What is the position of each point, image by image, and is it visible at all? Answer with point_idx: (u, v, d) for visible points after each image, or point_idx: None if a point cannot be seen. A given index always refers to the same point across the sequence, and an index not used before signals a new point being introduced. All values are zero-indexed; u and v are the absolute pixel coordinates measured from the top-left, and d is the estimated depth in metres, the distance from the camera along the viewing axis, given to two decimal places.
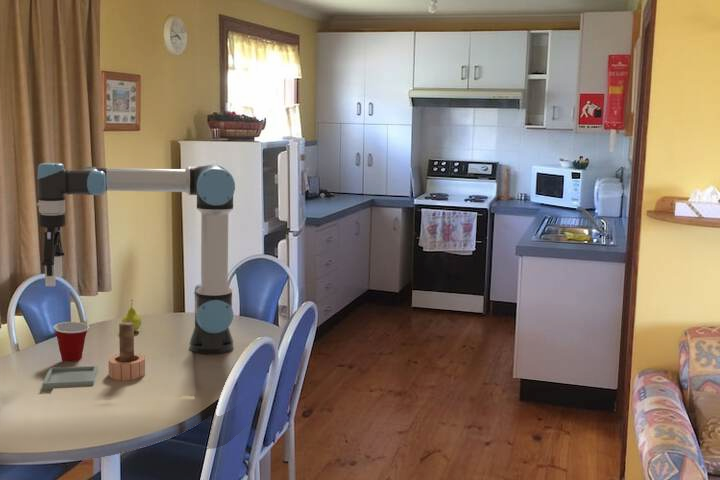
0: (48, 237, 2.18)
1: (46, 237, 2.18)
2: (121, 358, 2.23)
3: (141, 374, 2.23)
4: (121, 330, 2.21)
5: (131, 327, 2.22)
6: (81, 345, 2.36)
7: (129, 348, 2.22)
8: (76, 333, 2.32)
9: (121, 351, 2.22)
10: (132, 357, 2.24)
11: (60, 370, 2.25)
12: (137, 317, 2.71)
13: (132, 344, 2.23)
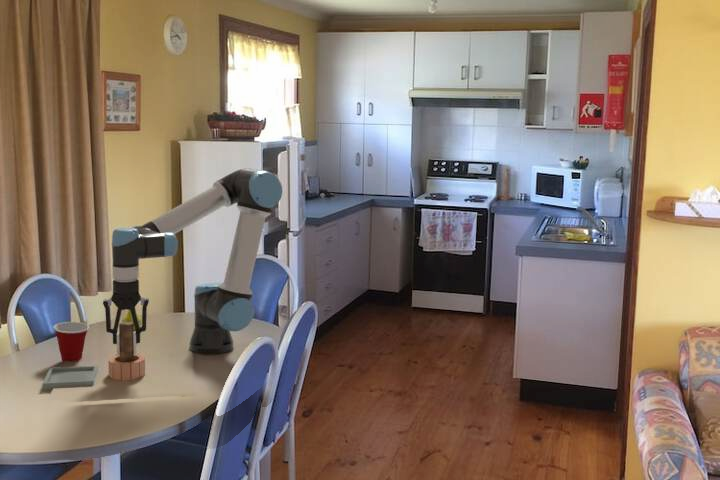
0: None
1: None
2: (121, 358, 2.23)
3: (141, 374, 2.23)
4: (121, 330, 2.21)
5: (131, 327, 2.22)
6: (81, 345, 2.36)
7: (129, 348, 2.22)
8: (76, 333, 2.32)
9: (121, 351, 2.22)
10: (132, 357, 2.24)
11: (60, 370, 2.25)
12: (137, 317, 2.71)
13: (132, 344, 2.23)
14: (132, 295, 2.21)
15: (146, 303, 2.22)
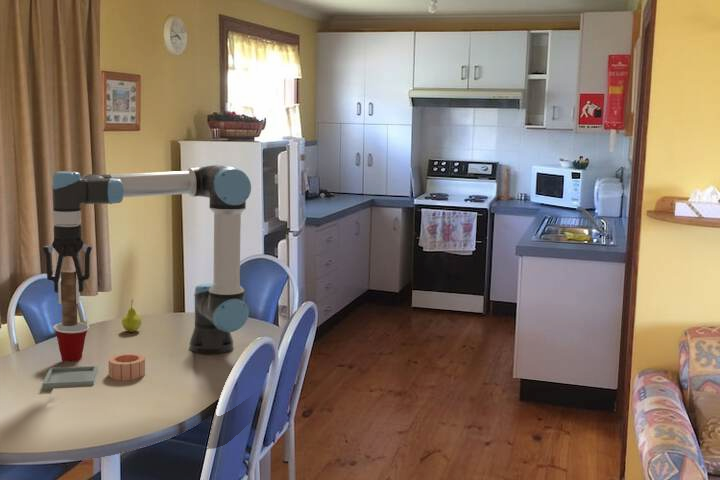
0: None
1: None
2: (63, 307, 2.15)
3: (141, 374, 2.23)
4: (63, 278, 2.13)
5: (73, 274, 2.14)
6: (81, 345, 2.36)
7: (71, 297, 2.15)
8: (76, 333, 2.32)
9: (62, 300, 2.15)
10: (75, 306, 2.16)
11: (60, 370, 2.25)
12: (137, 317, 2.71)
13: (74, 293, 2.15)
14: (74, 241, 2.13)
15: (89, 250, 2.14)
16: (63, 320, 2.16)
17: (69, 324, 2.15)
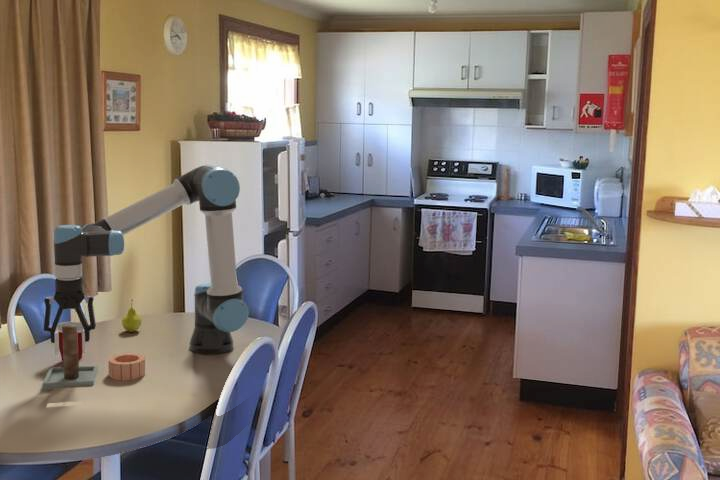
0: None
1: None
2: (64, 361, 2.17)
3: (141, 374, 2.23)
4: (64, 332, 2.16)
5: (74, 329, 2.16)
6: (81, 345, 2.36)
7: (73, 351, 2.17)
8: None
9: (64, 354, 2.17)
10: (76, 360, 2.19)
11: (60, 370, 2.25)
12: (137, 317, 2.71)
13: (76, 347, 2.18)
14: (75, 294, 2.15)
15: (91, 301, 2.17)
16: (65, 374, 2.18)
17: (71, 378, 2.18)
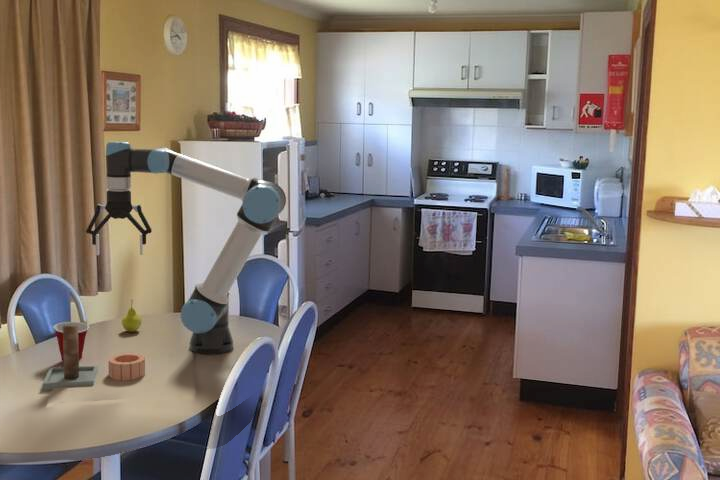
0: None
1: None
2: (65, 361, 2.18)
3: (141, 374, 2.23)
4: (64, 332, 2.16)
5: (74, 329, 2.17)
6: (81, 345, 2.36)
7: (73, 351, 2.17)
8: None
9: (64, 353, 2.17)
10: (76, 360, 2.19)
11: (60, 370, 2.25)
12: (137, 317, 2.71)
13: (76, 346, 2.18)
14: (124, 207, 2.36)
15: (139, 208, 2.37)
16: (65, 373, 2.18)
17: (71, 377, 2.18)
